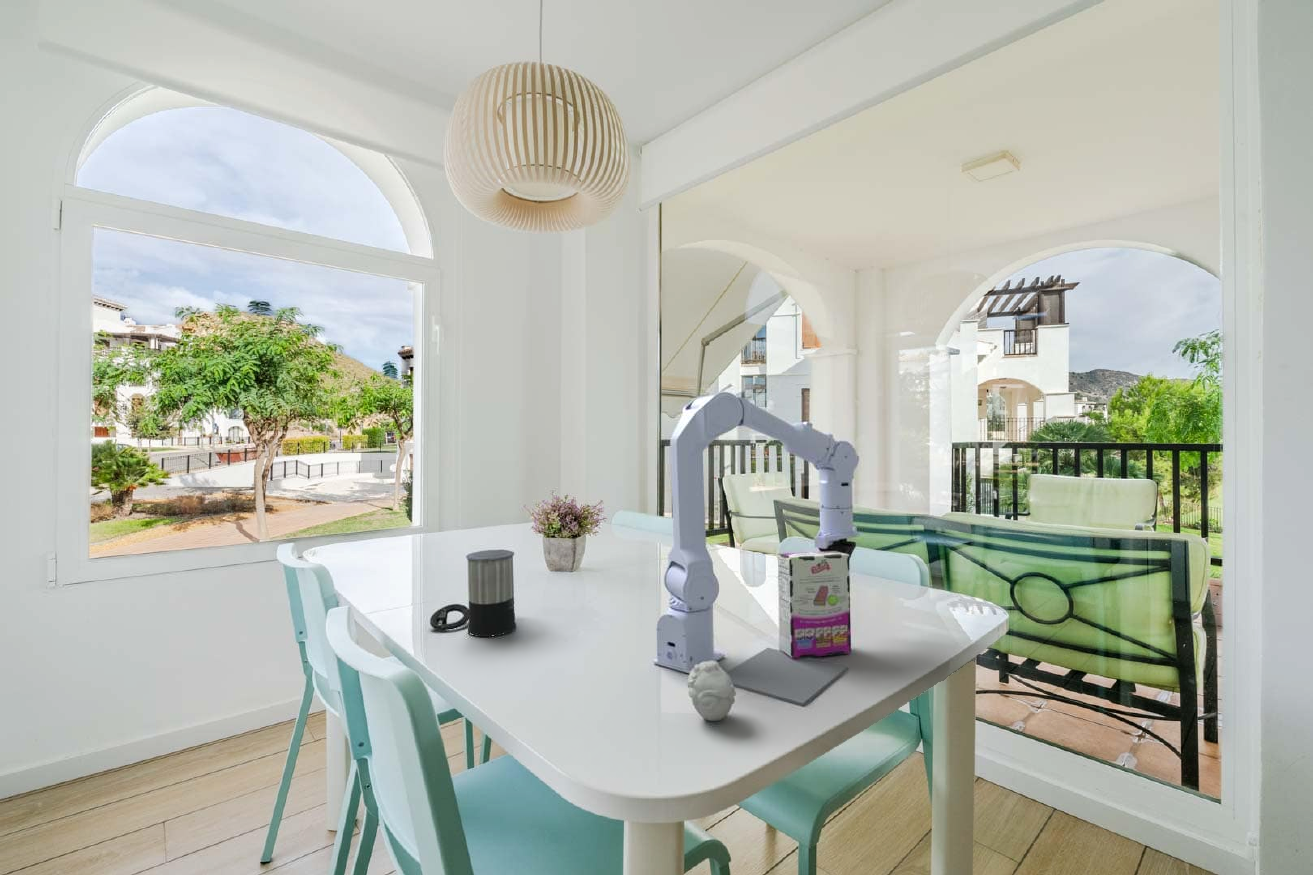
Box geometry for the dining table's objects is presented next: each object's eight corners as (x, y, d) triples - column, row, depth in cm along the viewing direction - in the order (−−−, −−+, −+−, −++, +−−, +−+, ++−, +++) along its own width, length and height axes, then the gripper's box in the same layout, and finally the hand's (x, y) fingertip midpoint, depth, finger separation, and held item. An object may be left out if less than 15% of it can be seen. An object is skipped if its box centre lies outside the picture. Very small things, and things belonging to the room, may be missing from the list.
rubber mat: (803, 706, 80) (803, 703, 80) (716, 680, 88) (715, 678, 88) (848, 668, 92) (848, 666, 92) (767, 649, 101) (767, 647, 101)
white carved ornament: (716, 702, 81) (715, 651, 81) (747, 723, 75) (746, 668, 75) (678, 712, 79) (677, 660, 79) (707, 735, 72) (706, 678, 72)
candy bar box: (835, 644, 103) (834, 549, 103) (852, 653, 98) (851, 554, 98) (776, 649, 100) (776, 551, 100) (791, 659, 95) (790, 556, 96)
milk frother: (519, 633, 112) (518, 555, 112) (430, 646, 106) (429, 563, 106) (509, 613, 125) (508, 543, 125) (430, 623, 120) (428, 550, 120)
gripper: (841, 512, 99) (843, 594, 99) (872, 504, 110) (873, 576, 110) (802, 510, 103) (804, 587, 103) (835, 502, 115) (837, 572, 114)
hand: (837, 582), depth 107 cm, fingers closed
